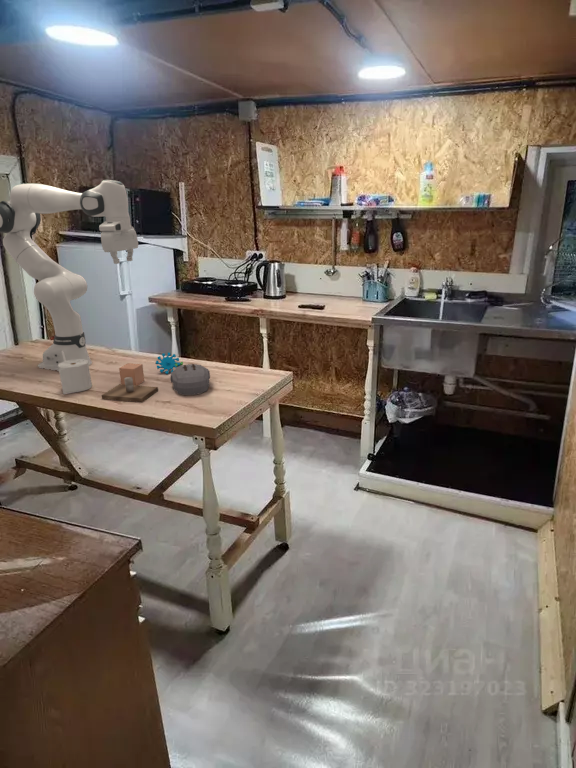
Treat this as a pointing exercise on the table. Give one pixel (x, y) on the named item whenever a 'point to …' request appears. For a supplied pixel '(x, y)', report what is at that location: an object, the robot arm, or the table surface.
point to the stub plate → (130, 392)
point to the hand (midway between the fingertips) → (123, 262)
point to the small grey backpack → (190, 379)
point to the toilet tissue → (74, 375)
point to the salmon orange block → (132, 373)
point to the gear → (168, 363)
